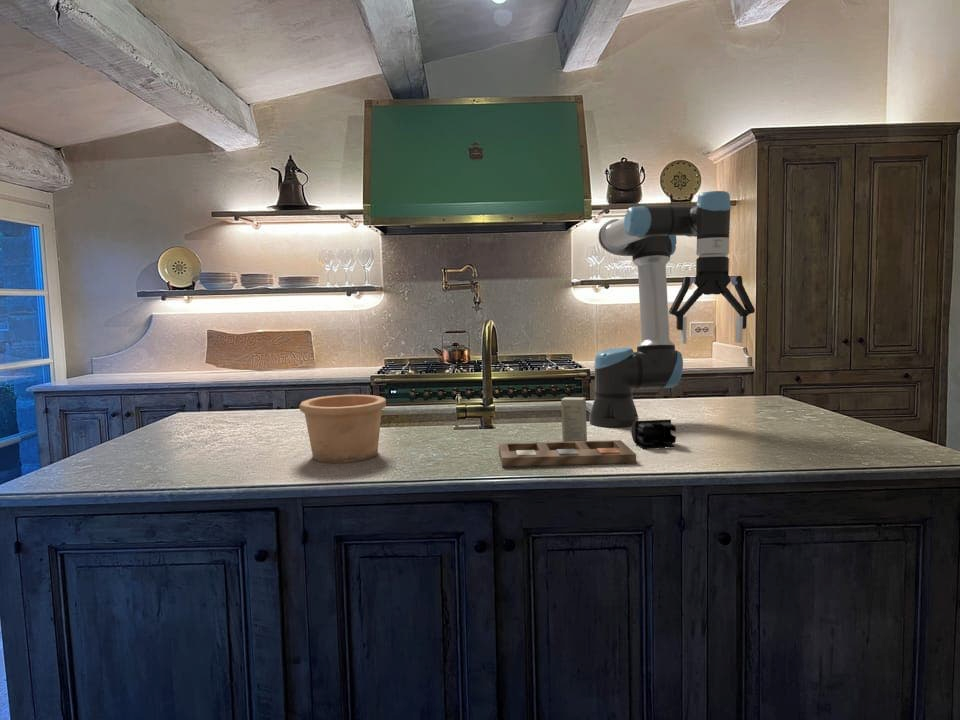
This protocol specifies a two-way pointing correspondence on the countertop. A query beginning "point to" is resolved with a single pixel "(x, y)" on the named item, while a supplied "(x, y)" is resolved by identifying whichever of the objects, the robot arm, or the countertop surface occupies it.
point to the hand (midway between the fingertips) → (710, 343)
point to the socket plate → (565, 454)
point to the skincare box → (574, 419)
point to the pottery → (343, 427)
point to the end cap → (653, 433)
